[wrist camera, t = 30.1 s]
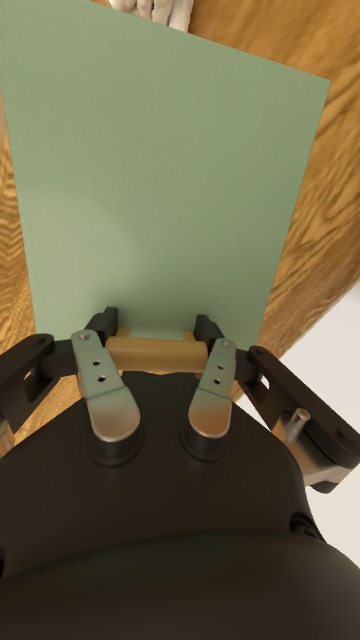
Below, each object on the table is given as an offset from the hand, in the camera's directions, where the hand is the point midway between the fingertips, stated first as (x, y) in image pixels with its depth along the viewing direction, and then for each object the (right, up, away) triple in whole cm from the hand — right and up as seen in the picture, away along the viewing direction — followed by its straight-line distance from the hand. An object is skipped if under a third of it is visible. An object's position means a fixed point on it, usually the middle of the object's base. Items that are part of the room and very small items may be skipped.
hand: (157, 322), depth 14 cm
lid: (+1, +6, -1) cm, 6 cm away
